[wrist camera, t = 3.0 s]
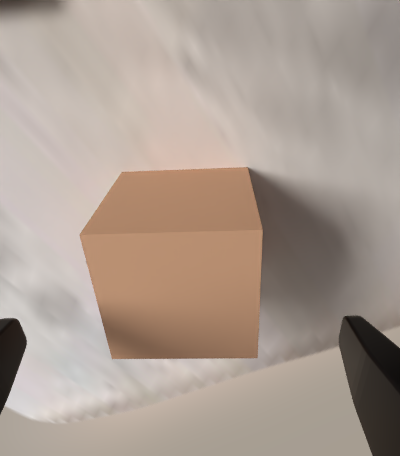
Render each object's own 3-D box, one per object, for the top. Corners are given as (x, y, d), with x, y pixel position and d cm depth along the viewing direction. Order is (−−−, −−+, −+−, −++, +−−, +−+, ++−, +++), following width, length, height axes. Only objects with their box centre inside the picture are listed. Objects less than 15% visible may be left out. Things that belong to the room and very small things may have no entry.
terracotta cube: (247, 166, 13) (262, 229, 9) (245, 269, 16) (257, 358, 12) (122, 171, 14) (79, 234, 9) (139, 271, 16) (112, 358, 12)
